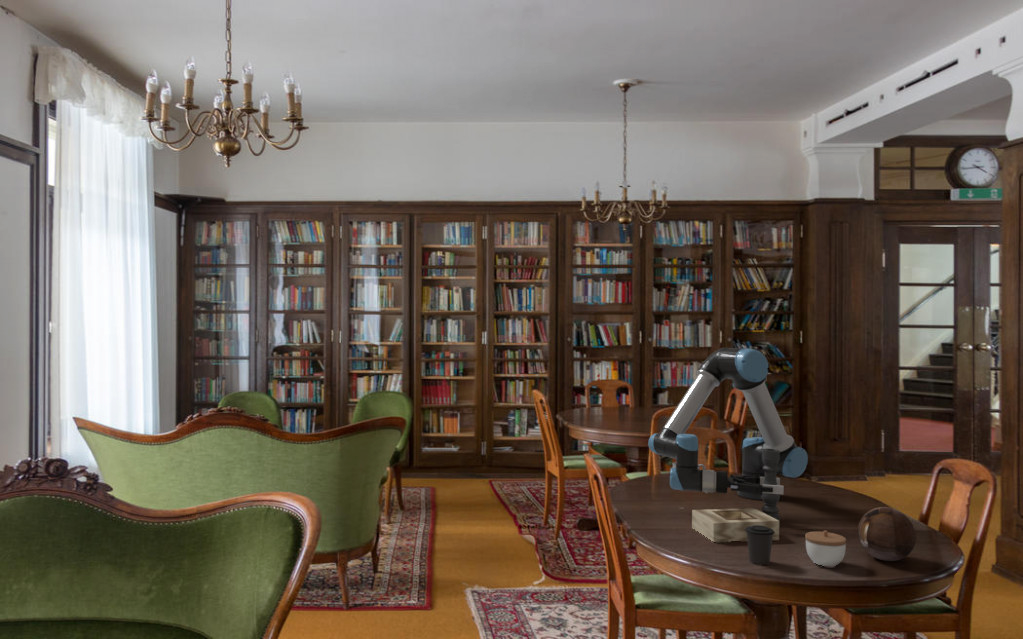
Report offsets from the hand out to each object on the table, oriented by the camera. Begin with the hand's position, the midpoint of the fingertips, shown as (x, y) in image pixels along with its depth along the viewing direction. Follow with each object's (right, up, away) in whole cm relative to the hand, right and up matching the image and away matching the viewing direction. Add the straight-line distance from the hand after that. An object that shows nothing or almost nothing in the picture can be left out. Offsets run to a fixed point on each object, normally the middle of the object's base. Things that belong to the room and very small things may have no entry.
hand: (781, 486), depth 249 cm
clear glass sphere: (+17, -13, -36) cm, 42 cm away
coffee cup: (-21, -13, -40) cm, 47 cm away
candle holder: (-4, -13, +1) cm, 14 cm away
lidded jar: (-3, -13, -40) cm, 43 cm away
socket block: (-20, -13, -12) cm, 26 cm away
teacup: (-16, -13, +65) cm, 68 cm away
